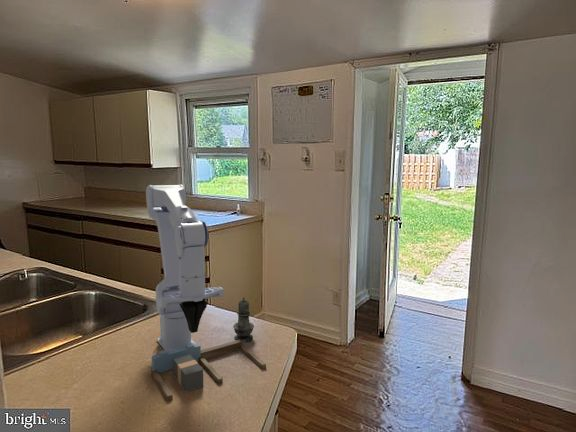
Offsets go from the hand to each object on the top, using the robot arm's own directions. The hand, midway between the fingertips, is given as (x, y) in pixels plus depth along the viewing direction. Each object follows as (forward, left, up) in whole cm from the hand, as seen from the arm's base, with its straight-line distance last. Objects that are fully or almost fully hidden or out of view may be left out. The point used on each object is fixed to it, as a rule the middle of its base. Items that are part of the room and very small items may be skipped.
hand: (193, 330), depth 91 cm
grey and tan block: (+3, -2, -10) cm, 11 cm away
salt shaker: (-9, +18, -10) cm, 23 cm away
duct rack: (+1, +3, -10) cm, 11 cm away
